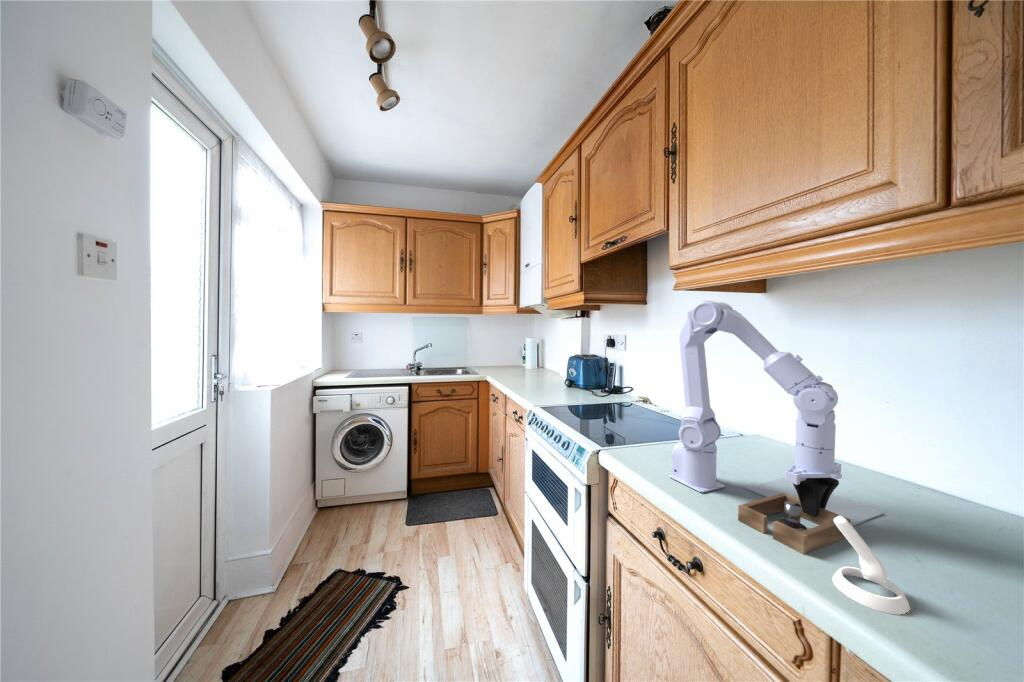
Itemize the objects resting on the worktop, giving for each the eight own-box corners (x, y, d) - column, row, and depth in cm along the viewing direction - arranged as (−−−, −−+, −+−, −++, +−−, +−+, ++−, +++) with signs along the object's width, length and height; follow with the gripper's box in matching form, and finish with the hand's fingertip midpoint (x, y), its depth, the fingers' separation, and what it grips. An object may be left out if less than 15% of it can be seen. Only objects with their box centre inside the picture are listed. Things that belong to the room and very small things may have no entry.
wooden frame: (738, 520, 67) (738, 505, 67) (782, 506, 72) (783, 492, 72) (803, 554, 57) (803, 536, 57) (849, 535, 62) (850, 519, 62)
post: (771, 523, 66) (772, 500, 66) (786, 519, 68) (786, 496, 67) (798, 536, 62) (799, 512, 62) (812, 531, 64) (813, 507, 63)
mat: (745, 488, 81) (745, 487, 81) (785, 478, 86) (785, 477, 86) (842, 529, 64) (842, 528, 64) (884, 514, 70) (884, 512, 70)
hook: (786, 525, 56) (829, 506, 55) (845, 605, 52) (893, 586, 51) (805, 541, 49) (854, 520, 48) (875, 634, 45) (931, 614, 44)
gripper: (817, 456, 60) (815, 532, 61) (862, 446, 66) (859, 516, 66) (773, 444, 67) (772, 513, 67) (817, 436, 72) (815, 499, 73)
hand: (812, 513), depth 67 cm, fingers closed
